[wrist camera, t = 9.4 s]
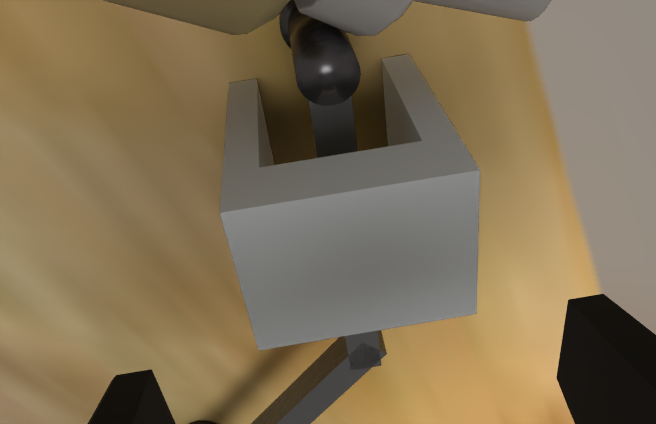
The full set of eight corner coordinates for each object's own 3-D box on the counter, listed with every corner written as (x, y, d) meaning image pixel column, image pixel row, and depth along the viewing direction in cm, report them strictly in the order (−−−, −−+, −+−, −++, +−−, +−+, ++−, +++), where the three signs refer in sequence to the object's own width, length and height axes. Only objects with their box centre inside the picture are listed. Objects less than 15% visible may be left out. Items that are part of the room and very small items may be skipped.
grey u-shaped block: (414, 172, 20) (476, 313, 14) (255, 198, 19) (258, 350, 14) (408, 54, 17) (480, 169, 12) (228, 83, 17) (219, 213, 12)
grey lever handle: (276, 456, 27) (280, 546, 24) (139, 439, 26) (123, 533, 22) (493, 49, 17) (549, 108, 14) (292, -25, 16) (303, 23, 12)
